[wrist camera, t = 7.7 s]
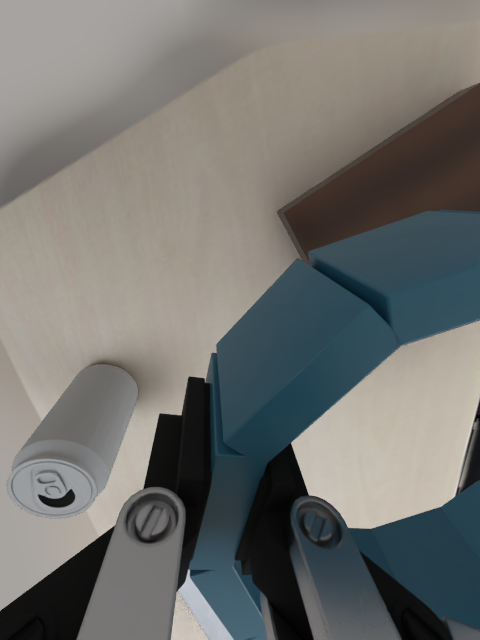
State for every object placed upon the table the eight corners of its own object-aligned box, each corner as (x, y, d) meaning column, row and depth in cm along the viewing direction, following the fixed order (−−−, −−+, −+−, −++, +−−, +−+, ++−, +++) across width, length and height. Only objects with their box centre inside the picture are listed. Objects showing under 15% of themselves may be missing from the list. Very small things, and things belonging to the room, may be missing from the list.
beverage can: (86, 415, 32) (22, 531, 21) (66, 364, 29) (-19, 465, 18) (146, 406, 32) (113, 515, 21) (131, 355, 30) (84, 448, 19)
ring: (98, 386, 10) (27, 512, 6) (557, 89, 8) (904, -18, 4) (310, 584, 17) (344, 711, 13) (601, 442, 15) (758, 539, 10)
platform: (276, 211, 26) (297, 215, 20) (458, 91, 24) (543, 55, 18) (351, 352, 32) (384, 387, 26) (500, 267, 30) (573, 284, 24)
